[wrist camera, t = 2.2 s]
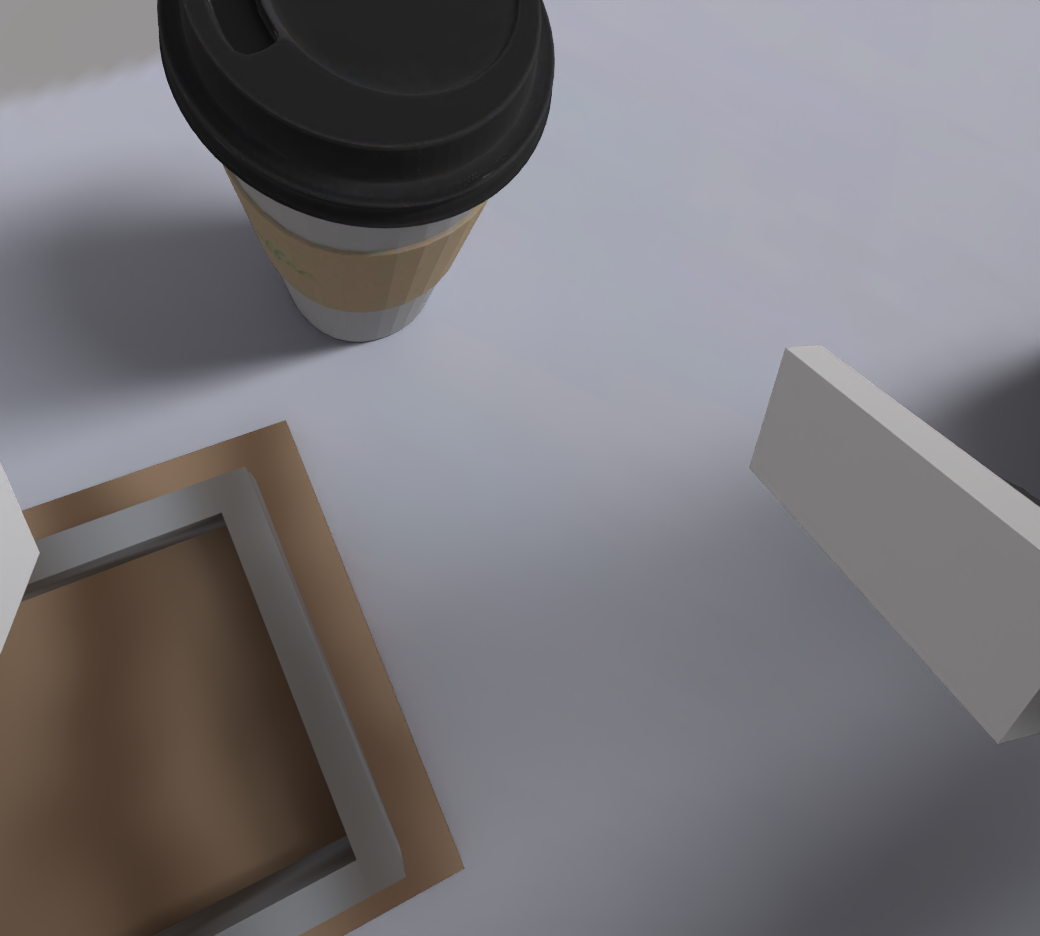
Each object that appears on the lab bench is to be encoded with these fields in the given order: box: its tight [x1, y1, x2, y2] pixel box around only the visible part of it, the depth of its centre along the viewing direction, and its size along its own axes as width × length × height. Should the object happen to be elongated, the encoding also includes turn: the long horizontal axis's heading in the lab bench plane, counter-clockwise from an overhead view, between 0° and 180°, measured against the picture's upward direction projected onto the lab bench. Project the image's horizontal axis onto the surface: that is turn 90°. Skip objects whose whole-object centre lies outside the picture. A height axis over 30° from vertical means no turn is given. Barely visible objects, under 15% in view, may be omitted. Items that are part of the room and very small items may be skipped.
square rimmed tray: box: [0, 420, 464, 936], centre depth 23 cm, size 18×18×4 cm
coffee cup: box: [157, 0, 555, 342], centre depth 23 cm, size 9×9×15 cm
